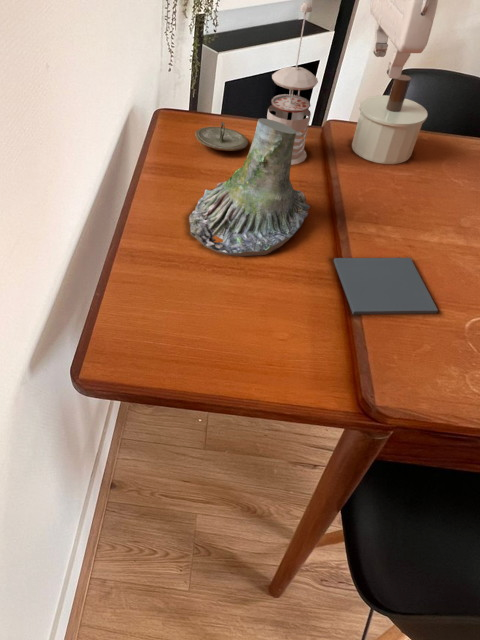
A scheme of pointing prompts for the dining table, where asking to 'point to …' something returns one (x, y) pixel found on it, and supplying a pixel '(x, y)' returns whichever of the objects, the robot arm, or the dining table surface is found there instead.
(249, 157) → the tree stump
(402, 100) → the basin lid
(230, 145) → the lid
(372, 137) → the basin
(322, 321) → the dining table surface
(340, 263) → the mat
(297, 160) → the french press
